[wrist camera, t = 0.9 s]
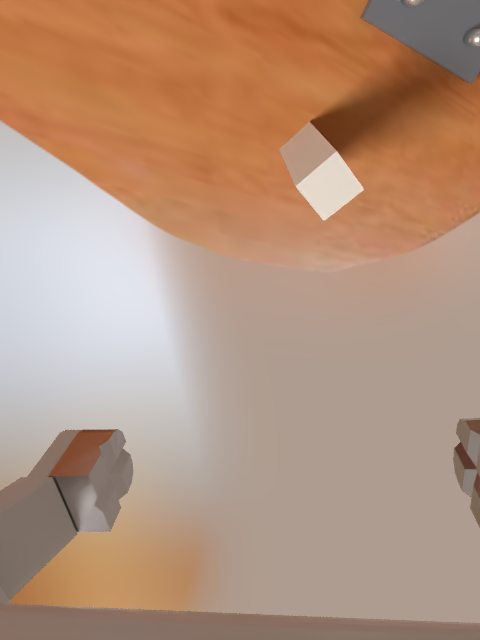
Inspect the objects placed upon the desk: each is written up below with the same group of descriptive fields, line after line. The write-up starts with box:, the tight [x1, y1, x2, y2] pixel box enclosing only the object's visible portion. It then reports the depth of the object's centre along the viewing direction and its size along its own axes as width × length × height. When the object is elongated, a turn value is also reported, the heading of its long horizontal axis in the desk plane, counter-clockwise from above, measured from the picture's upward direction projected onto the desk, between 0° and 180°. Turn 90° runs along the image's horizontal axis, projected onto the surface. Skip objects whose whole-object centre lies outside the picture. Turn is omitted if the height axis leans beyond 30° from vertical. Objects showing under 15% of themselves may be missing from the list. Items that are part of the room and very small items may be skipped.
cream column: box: [279, 121, 364, 221], centre depth 43 cm, size 4×4×14 cm
